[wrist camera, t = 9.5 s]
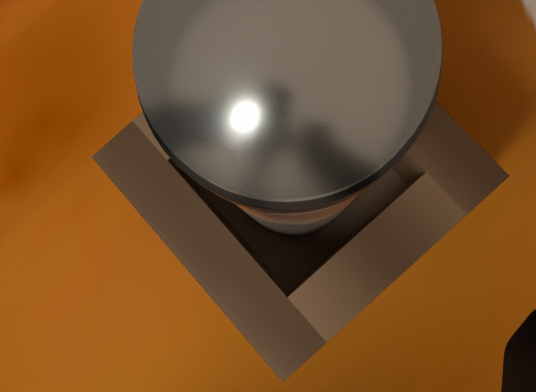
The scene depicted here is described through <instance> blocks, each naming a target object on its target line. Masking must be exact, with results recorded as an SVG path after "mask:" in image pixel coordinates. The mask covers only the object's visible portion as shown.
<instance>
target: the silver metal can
mask: <svg viewBox="0 0 536 392" xmlns="http://www.w3.org/2000/svg"><path fill="white" fill-rule="evenodd" d="M132 55H133V72H134V77H135V83H136V88H137V92H138V97H139V101H140V104H141V107H142V110H143V114H144V117H145V119H146V121H147V123H148V125H149V127H150V129H151V131H152V133H153V135H154V137H155V138H156V140H157V141H158V143H159V144H160V146H161V147H162V149H163V150H164V152H165V153H166V154H167V155H168V156H169V157H170V158H171V159H172V161H173V162H174V163H175V164H176V165H177V166H178V167H179V168H180V169H181V170H183V171H184V172H185V173H186V174H187V175H188V176H190V177H191V178H192V179H193V180H195V181H196V182H198V183H199V184H200V185H202V186H203V187H205V188H206V189H208V190H209V191H211V192H212V193H214V194H216V195H217V196H219V197H221V198H223V199H225V200H227V201H229V202H232V203H234V204H236V205H237V206H238V207H239V208H241V209H242V210H243V211H245V212H246V213H247V214H248V215H250V216H251V217H252V218H253V219H255V220H256V221H257V222H258V223H260V224H261V225H262V226H264V227H265V228H267V229H269V230H271V231H273V232H275V233H278V234H281V235H287V236H304V235H309V234H312V233H315V232H318V231H320V230H322V229H324V228H325V227H327V226H328V225H329V224H331V223H332V222H333V221H334V220H335V219H336V218H337V217H338V216H339V215H340V214H341V213H342V212H343V210H344V209H345V208H346V207H347V206H348V205H349V204H350V203H351V202H352V201H353V200H354V199H355V198H356V197H357V195H358V194H360V193H362V192H363V191H364V190H366V189H367V188H369V187H370V186H372V185H373V184H375V183H376V182H377V181H378V180H379V179H380V178H382V177H383V176H384V175H385V174H386V173H387V172H388V171H389V170H390V169H391V168H392V167H393V166H394V165H395V164H396V163H398V162H399V161H400V159H401V158H402V157H403V156H404V155H405V153H406V152H407V151H408V150H409V149H410V148H411V146H412V145H413V144H414V142H415V141H416V139H417V137H418V136H419V134H420V133H421V131H422V130H423V128H424V126H425V124H426V122H427V119H428V117H429V115H430V113H431V111H432V108H433V105H434V102H435V98H436V95H437V92H438V87H439V80H440V74H441V60H442V36H441V28H440V20H439V16H438V12H437V9H436V5H435V1H434V0H143V2H142V4H141V7H140V10H139V13H138V16H137V21H136V25H135V30H134V38H133V49H132Z"/></svg>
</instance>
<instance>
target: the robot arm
mask: <svg viewBox="0 0 536 392" xmlns="http://www.w3.org/2000/svg"><path fill="white" fill-rule="evenodd" d="M501 392H536V309H535V310H534V311H533V312H531V314H530V315H529V316H528V317H527V318H526V320H525V321H524V322H523V323H522V325H521V326H520V327H519V328H518V329H517V331H516V332H515V333H514V334H513V335H512V337H511V338H510V339H509V341H508V343H507V345H506V348H505V352H504V361H503V375H502V389H501Z"/></svg>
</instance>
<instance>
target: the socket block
mask: <svg viewBox="0 0 536 392" xmlns="http://www.w3.org/2000/svg"><path fill="white" fill-rule="evenodd" d="M92 158H93V159H94V160H95V162H96V163H97V164H98V165H99V166H100V167H101V169H102V170H103V171H104V172H105V173H106V174H107V176H108V177H109V178H110V179H111V180H112V182H113V183H114V184H115V185H116V186H117V187H118V189H119V190H120V191H121V192H122V193H123V194H124V196H125V197H126V198H127V199H128V200H129V202H130V203H131V204H132V205H133V206H134V207H135V209H136V210H137V211H138V212H139V213H140V214H141V216H142V217H143V218H144V219H145V220H146V222H147V223H148V224H149V225H150V226H151V227H152V229H153V230H154V231H155V232H156V233H157V234H158V236H159V237H160V238H161V239H162V240H163V241H164V243H165V244H166V245H167V246H168V247H169V249H170V250H171V251H172V252H173V253H174V254H175V256H176V257H177V258H178V259H179V260H180V261H181V263H182V264H183V265H184V266H185V267H186V269H187V270H188V271H189V272H190V273H191V274H192V276H193V277H194V278H195V279H196V280H197V281H198V283H199V284H200V285H201V286H202V287H203V289H204V290H205V291H206V292H207V293H208V294H209V296H210V297H211V298H212V299H213V300H214V301H215V303H216V304H217V305H218V306H219V307H220V309H221V310H222V311H223V312H224V313H225V314H226V316H227V317H228V318H229V319H230V320H231V321H232V323H233V324H234V325H235V326H236V327H237V329H238V330H239V331H240V332H241V333H242V334H243V336H244V337H245V338H246V339H247V340H248V341H249V343H250V344H251V345H252V346H253V347H254V349H255V350H256V351H257V352H258V353H259V354H260V356H261V357H262V358H263V359H264V360H265V361H266V363H267V364H268V365H269V366H270V367H271V369H272V370H273V371H274V372H275V373H276V374H277V376H278V377H279V378H280V379H281V380H282V381H283V382H284V381H285V380H286V379H287V378H288V377H289V376H290V375H291V374H292V373H293V372H295V371H296V370H297V369H298V368H299V367H300V366H301V365H302V364H303V363H304V362H306V361H307V360H308V359H309V358H310V357H311V356H312V355H313V354H314V353H315V352H316V351H318V350H319V349H320V348H321V347H322V346H323V345H324V344H325V343H326V342H327V341H329V340H330V339H331V338H332V337H333V336H334V335H335V334H336V333H337V332H338V331H340V330H341V329H342V328H343V327H344V326H345V325H346V324H347V323H348V322H349V321H351V320H352V319H353V318H354V317H355V316H356V315H357V314H358V313H359V312H360V311H362V310H363V309H364V308H365V307H366V306H367V305H368V304H369V303H370V302H371V301H373V300H374V299H375V298H376V297H377V296H378V295H379V294H380V293H381V292H382V291H384V290H385V289H386V288H387V287H388V286H389V285H390V284H391V283H392V282H393V281H395V280H396V279H397V278H398V277H399V276H400V275H401V274H402V273H403V272H404V271H406V270H407V269H408V268H409V267H410V266H411V265H412V264H413V263H414V262H415V261H417V260H418V259H419V258H420V257H421V256H422V255H423V254H424V253H425V252H426V251H428V250H429V249H430V248H431V247H432V246H433V245H434V244H435V243H436V242H437V241H439V240H440V239H441V238H442V237H443V236H444V235H445V234H446V233H447V232H448V231H450V230H451V229H452V228H453V227H454V226H455V225H456V224H457V223H458V222H459V221H461V220H462V219H463V218H464V217H465V216H466V215H467V214H468V213H469V212H470V211H472V210H473V209H474V208H475V207H476V206H477V205H478V204H479V203H480V202H481V201H483V200H484V199H485V198H486V197H487V196H488V195H489V194H490V193H491V192H492V191H494V190H495V189H496V188H497V187H498V186H499V185H500V184H501V183H502V182H503V181H504V180H506V179H507V178H508V177H509V175H508V174H507V173H506V172H505V171H504V170H503V169H502V168H501V167H500V166H499V165H498V164H497V163H496V162H495V161H494V160H493V159H492V158H491V157H490V156H489V155H488V154H487V153H486V152H485V151H484V150H483V149H482V148H481V147H480V146H479V145H478V144H477V143H476V142H475V141H474V140H473V139H472V138H471V137H470V136H469V135H468V134H467V133H466V132H465V131H464V130H463V129H462V128H461V127H460V126H459V125H458V124H457V123H456V122H455V121H454V120H453V119H452V118H451V117H450V116H449V115H448V114H447V113H446V112H445V111H444V110H443V109H442V108H441V107H440V106H439V105H438V104H437V103H436V102H434V105H433V108H432V111H431V113H430V115H429V117H428V119H427V122H426V124H425V126H424V128H423V130H422V131H421V133H420V134H419V136H418V137H417V139H416V141H415V142H414V144H413V145H412V146H411V148H410V149H409V150H408V151H407V152H406V153H405V155H404V156H403V157H402V158H401V159H400V161H399V162H398V163H396V164H395V165H394V166H393V167H392V168H391V169H390V170H389V171H388V172H387V173H386V174H385V175H384V176H383V177H382V178H380V179H379V180H378V181H377V182H376V183H375V184H373V185H372V186H370V187H369V188H367V189H366V190H364V191H363V192H362V193H360V194H358V195H357V197H356V198H355V199H354V200H353V201H352V202H351V203H350V204H349V205H348V206H347V207H346V208H345V209H344V210H343V212H342V213H341V214H340V215H339V216H338V217H337V218H336V219H335V220H334V221H333V222H332V223H331V224H329V225H328V226H327V227H325V228H324V229H322V230H320V231H318V232H315V233H312V234H309V235H304V236H287V235H281V234H278V233H275V232H273V231H271V230H269V229H267V228H265V227H264V226H262V225H261V224H260V223H258V222H257V221H256V220H255V219H253V218H252V217H251V216H250V215H248V214H247V213H246V212H245V211H243V210H242V209H241V208H239V207H238V206H237V205H236V204H234V203H232V202H229V201H227V200H225V199H223V198H221V197H219V196H217V195H216V194H214V193H212V192H211V191H209V190H208V189H206V188H205V187H203V186H202V185H200V184H199V183H198V182H196V181H195V180H193V179H192V178H191V177H190V176H188V175H187V174H186V173H185V172H184V171H183V170H181V169H180V168H179V167H178V166H177V165H176V164H175V163H174V162H173V161H172V159H171V158H170V157H169V156H168V155H167V154H166V153H165V152H164V150H163V149H162V147H161V146H160V144H159V143H158V141H157V140H156V138H155V137H154V135H153V133H152V131H151V129H150V127H149V125H148V123H147V121H146V119H145V117H144V114H143V112H142V113H141V114H140V115H139V116H137V117H136V118H135V119H134V120H133V121H132V122H131V123H130V124H128V125H127V126H126V127H125V128H124V129H123V130H122V131H120V132H119V133H118V134H117V135H116V136H115V137H114V138H112V139H111V140H110V141H109V142H108V143H107V144H106V145H104V146H103V147H102V148H101V149H100V150H99V151H98V152H96V153H95V154H94V155H93V156H92Z"/></svg>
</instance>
